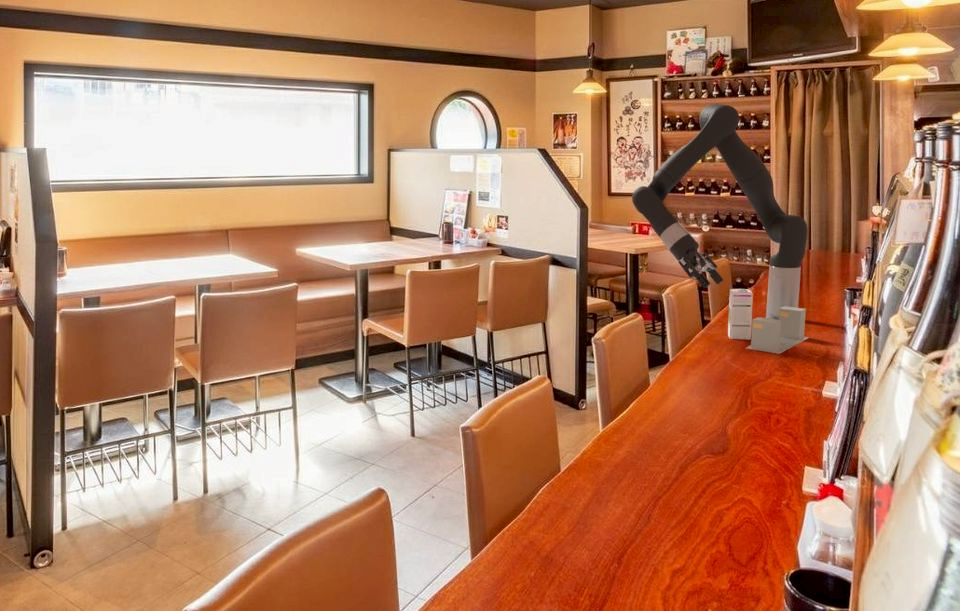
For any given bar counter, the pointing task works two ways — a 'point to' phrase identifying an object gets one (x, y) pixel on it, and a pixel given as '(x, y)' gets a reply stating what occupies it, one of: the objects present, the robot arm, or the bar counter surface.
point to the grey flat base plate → (786, 343)
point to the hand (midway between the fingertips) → (714, 284)
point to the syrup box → (740, 314)
